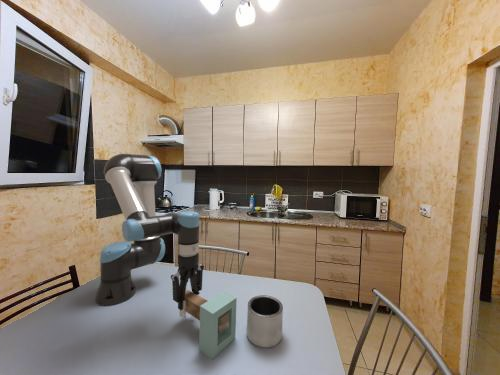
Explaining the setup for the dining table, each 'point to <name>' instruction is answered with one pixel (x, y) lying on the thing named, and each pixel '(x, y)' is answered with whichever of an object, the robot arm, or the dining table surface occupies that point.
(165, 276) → the dining table surface
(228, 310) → the green rectangular frame
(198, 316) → the brown wooden long bar
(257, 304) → the planter
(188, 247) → the robot arm
